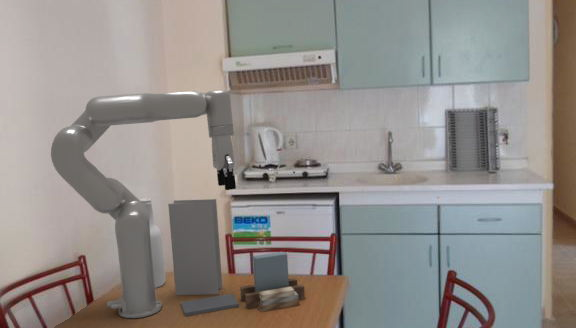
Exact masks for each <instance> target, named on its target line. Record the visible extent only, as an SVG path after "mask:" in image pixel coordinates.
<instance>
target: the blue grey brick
mask: <svg viewBox="0 0 576 328" xmlns="http://www.w3.org/2000/svg"><path fill="white" fill-rule="evenodd" d="M252 262H253V264H252V265H253V279H254V280H253V281H254V284H255V292H259V291H265V290H271V289H277V288H283V287H289V279H290V278H289V265H288V264H289V262H288V254H287V253H286V252H285V251H280V252H273V253H267V254H258V255H257V254H256V255H253V256H252Z"/></svg>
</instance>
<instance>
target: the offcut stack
mask: <svg viewBox="0 0 576 328" xmlns="http://www.w3.org/2000/svg"><path fill="white" fill-rule="evenodd" d="M259 297H260V302H257V306H258V307H257V309H258V310H259V312H260V313H262V312H267V311H273V310H278V309H285V308H291V307H297V306H300V303H301V302H300V300H299V299H298V294H297V293H296V292H295V291H294V289H293V288H292V287H286V288H280V289H274V290H268V291H262V292H259Z"/></svg>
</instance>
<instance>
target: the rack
mask: <svg viewBox="0 0 576 328" xmlns="http://www.w3.org/2000/svg"><path fill="white" fill-rule="evenodd" d="M288 279H289V287H292V288H293V289H294V291H295V292H296V293H297V294H298V299H299V301H301V300H305V299H306V298H305V297H306V296H305V295H306V294H305V286H304V285H303V284H298V279H297V278H296V277H293V278H288ZM283 288H286V287H283ZM239 289H240V291H239V292H240V300H241V301H242V302H245V307H246V308H247V310H249V309H256V308H258V306H257V302H260V297H259V292H262V291H259V292H255V283H254V284H250V285H249V284H248V285H244V286H240V287H239ZM277 289H280V288H277ZM271 290H274V289H271ZM265 291H268V290H265Z"/></svg>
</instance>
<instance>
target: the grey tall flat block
mask: <svg viewBox="0 0 576 328" xmlns="http://www.w3.org/2000/svg"><path fill="white" fill-rule="evenodd" d="M217 204H218V203H217V198H212V199H209V198H207V199H184V200H183V199H180V200H179V199H177V200H173V202H171V203H168V214H169V215H168V216H169V228H170V240H171V252H172V262H173V265H172V266H173V279H174V290H175V295H176V296H186V295H187V296H189V295H192V296H193V295H195V296H197V295H198V296H199V295H203V296H204V295H219V293H220V292H219V290H221V289H223V279H222V263H221V248H220V236H219V234H220V233H219V222H218V207H217Z"/></svg>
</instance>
